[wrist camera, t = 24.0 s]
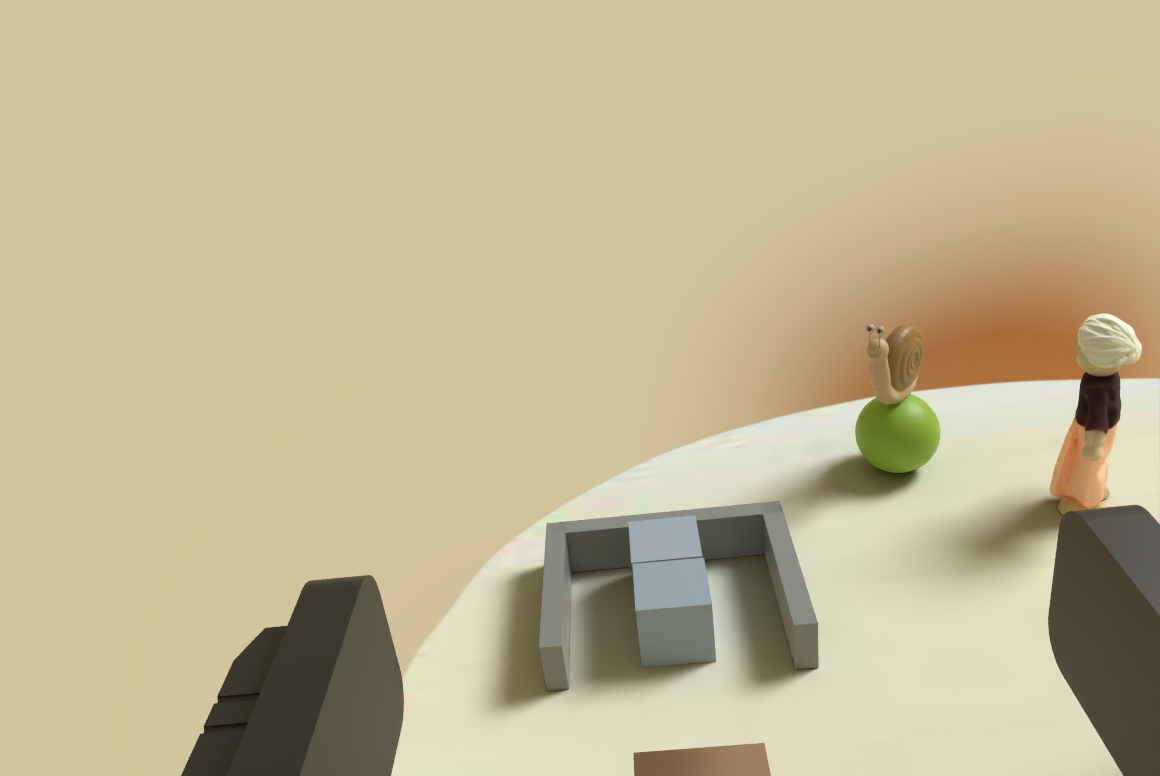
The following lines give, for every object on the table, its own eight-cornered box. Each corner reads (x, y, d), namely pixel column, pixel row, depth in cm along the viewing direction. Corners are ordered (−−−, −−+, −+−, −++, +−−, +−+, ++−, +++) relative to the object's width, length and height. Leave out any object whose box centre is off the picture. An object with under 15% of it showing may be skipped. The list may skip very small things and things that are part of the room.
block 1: (699, 569, 60) (695, 515, 58) (706, 612, 57) (702, 556, 55) (634, 575, 60) (628, 521, 59) (637, 618, 57) (631, 562, 55)
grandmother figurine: (1043, 469, 65) (1063, 291, 59) (1109, 474, 64) (1135, 292, 58) (1052, 538, 59) (1075, 346, 53) (1125, 545, 57) (1157, 348, 52)
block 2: (708, 613, 56) (704, 557, 55) (716, 662, 53) (711, 604, 51) (638, 619, 57) (632, 563, 55) (642, 668, 53) (635, 610, 51)
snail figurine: (833, 480, 67) (832, 319, 61) (878, 439, 71) (881, 283, 65) (909, 504, 63) (915, 335, 58) (951, 459, 67) (961, 297, 62)
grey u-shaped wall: (780, 541, 61) (779, 501, 60) (818, 667, 52) (817, 622, 50) (553, 562, 62) (546, 523, 61) (546, 690, 52) (538, 647, 51)
